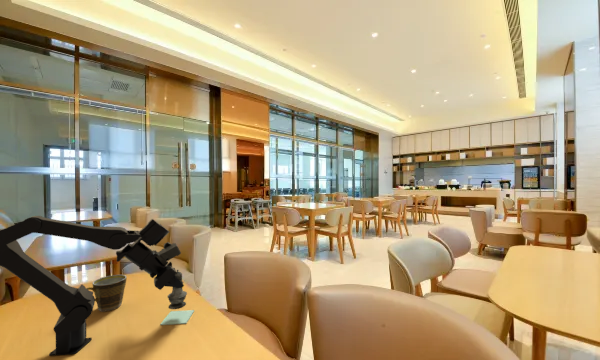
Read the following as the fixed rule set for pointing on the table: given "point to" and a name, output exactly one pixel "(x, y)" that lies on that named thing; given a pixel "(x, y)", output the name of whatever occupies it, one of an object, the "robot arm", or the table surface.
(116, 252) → the robot arm
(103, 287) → the ceramic cup
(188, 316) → the plate
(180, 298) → the grey stone tiered figure
